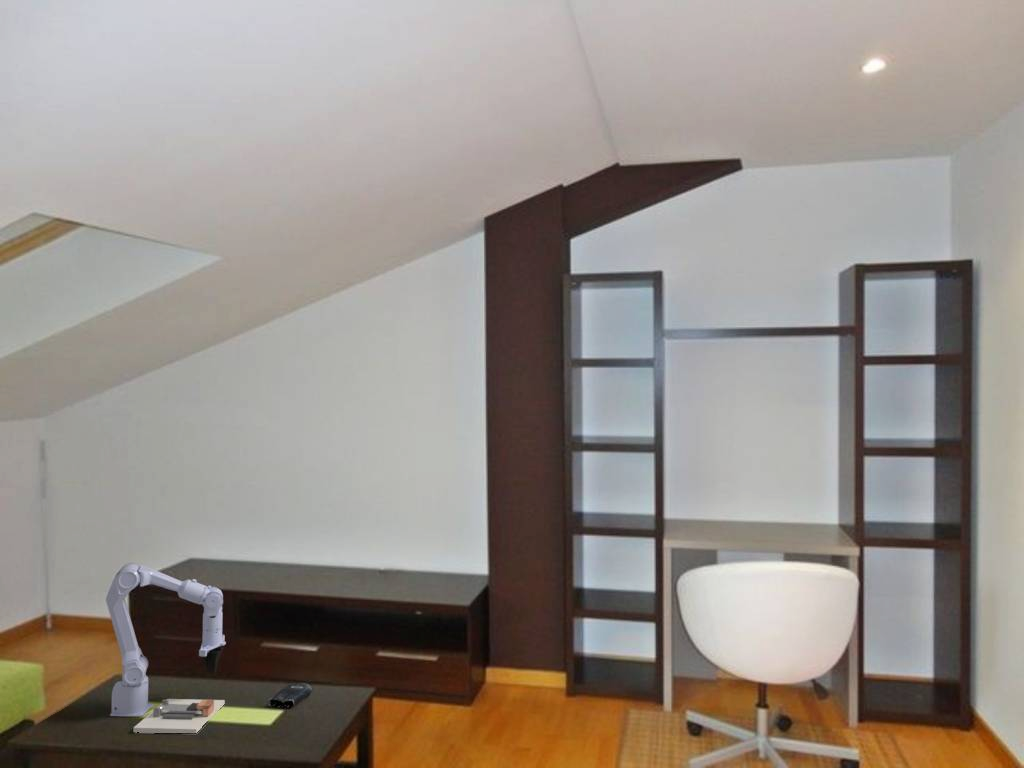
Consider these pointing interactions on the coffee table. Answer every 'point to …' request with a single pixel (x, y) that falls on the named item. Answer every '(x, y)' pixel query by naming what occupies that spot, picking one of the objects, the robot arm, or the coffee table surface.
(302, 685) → the electronic device
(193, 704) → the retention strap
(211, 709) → the block
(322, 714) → the coffee table surface
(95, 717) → the coffee table surface
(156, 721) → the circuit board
